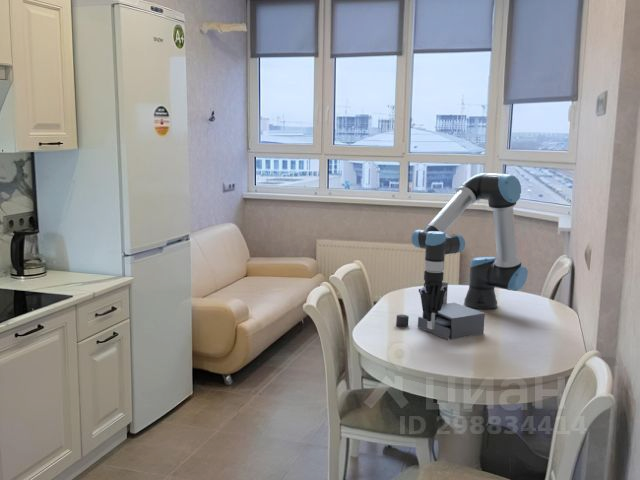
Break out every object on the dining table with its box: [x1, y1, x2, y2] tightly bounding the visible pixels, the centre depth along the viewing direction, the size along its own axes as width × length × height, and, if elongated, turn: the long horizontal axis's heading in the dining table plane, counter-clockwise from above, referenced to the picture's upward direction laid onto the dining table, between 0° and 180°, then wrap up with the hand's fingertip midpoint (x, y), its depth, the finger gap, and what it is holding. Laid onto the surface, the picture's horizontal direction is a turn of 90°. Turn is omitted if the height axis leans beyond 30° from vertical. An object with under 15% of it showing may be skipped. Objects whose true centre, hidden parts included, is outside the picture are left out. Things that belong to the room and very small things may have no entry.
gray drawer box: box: [422, 302, 486, 340], centre depth 250 cm, size 17×18×8 cm
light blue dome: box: [435, 316, 451, 326], centre depth 247 cm, size 8×8×2 cm
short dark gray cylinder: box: [395, 314, 410, 328], centre depth 255 cm, size 5×5×4 cm
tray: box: [417, 316, 451, 340], centre depth 249 cm, size 17×18×4 cm
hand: (430, 328), depth 244 cm, fingers closed
